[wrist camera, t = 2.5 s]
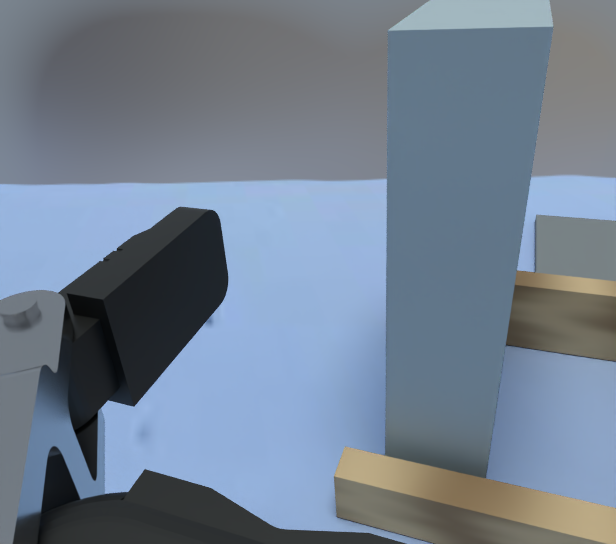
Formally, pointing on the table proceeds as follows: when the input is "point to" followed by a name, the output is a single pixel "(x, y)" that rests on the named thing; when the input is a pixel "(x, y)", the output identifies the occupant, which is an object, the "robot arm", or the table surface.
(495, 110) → the upright blue-grey block
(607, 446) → the table surface
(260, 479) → the table surface
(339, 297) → the table surface
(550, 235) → the mat
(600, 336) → the frame
